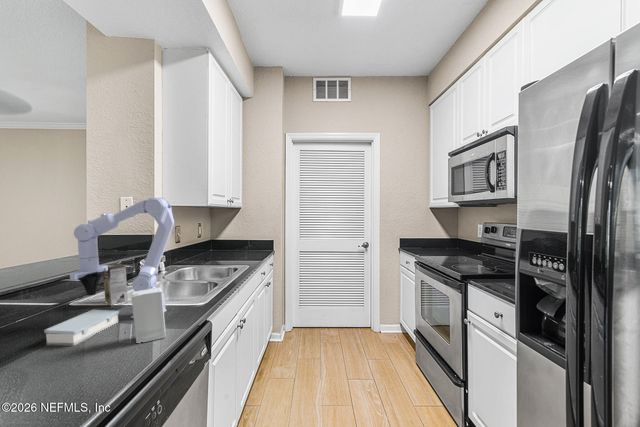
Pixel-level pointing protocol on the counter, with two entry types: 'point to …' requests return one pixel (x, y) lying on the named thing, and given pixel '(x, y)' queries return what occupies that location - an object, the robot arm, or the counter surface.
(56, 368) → the counter surface
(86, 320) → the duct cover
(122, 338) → the counter surface
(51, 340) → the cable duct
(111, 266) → the coffee box
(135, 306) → the skincare box
